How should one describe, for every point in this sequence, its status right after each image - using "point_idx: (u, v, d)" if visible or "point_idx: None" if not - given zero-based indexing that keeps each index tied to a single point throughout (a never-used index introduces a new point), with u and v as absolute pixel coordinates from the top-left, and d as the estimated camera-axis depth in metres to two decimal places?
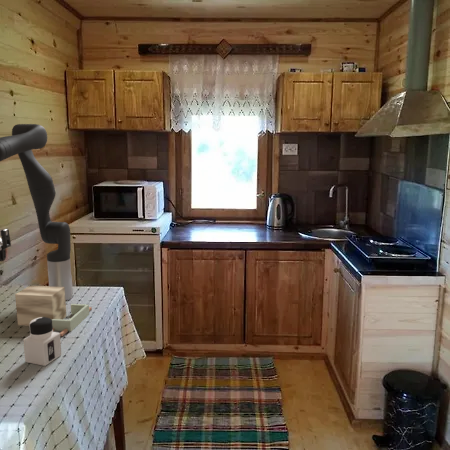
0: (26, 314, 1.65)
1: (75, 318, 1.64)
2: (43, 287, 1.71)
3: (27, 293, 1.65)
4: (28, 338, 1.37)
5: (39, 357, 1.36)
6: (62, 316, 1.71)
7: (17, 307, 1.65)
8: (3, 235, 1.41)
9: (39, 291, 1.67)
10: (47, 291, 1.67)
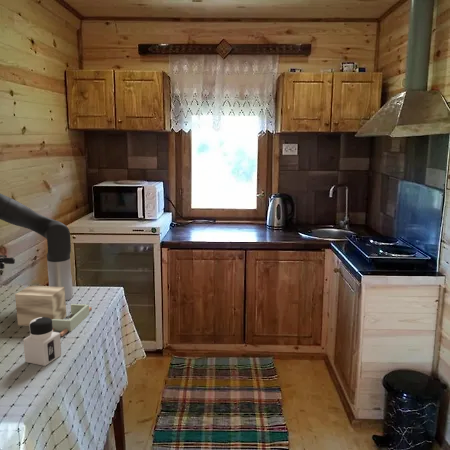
0: (26, 314, 1.65)
1: (75, 318, 1.64)
2: (43, 287, 1.71)
3: (27, 293, 1.65)
4: (28, 338, 1.37)
5: (39, 357, 1.36)
6: (62, 316, 1.71)
7: (17, 307, 1.65)
8: None
9: (39, 291, 1.67)
10: (47, 291, 1.67)
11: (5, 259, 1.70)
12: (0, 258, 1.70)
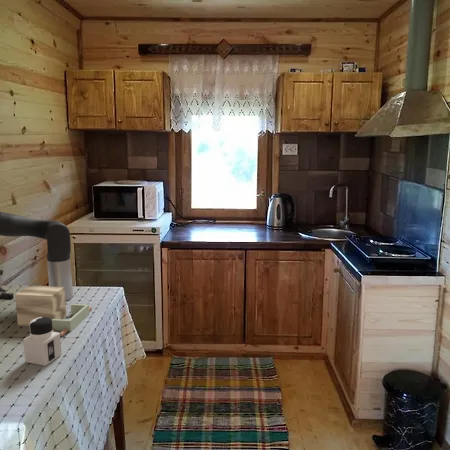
0: (26, 314, 1.65)
1: (75, 318, 1.64)
2: (43, 287, 1.71)
3: (27, 293, 1.65)
4: (28, 338, 1.37)
5: (39, 357, 1.36)
6: (62, 316, 1.71)
7: (17, 307, 1.65)
8: None
9: (39, 291, 1.67)
10: (47, 291, 1.67)
11: None
12: None
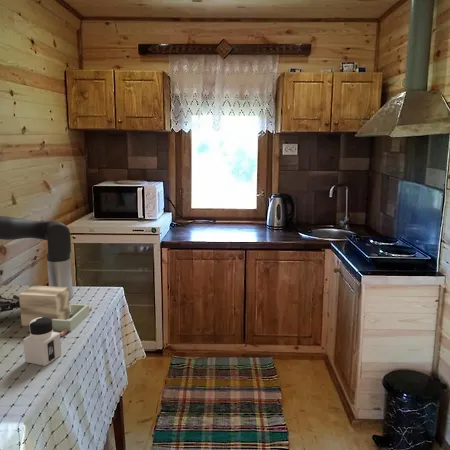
0: (30, 314, 1.64)
1: (75, 318, 1.64)
2: (47, 287, 1.71)
3: (31, 293, 1.64)
4: (28, 338, 1.37)
5: (39, 357, 1.36)
6: (66, 317, 1.70)
7: (21, 307, 1.64)
8: None
9: (43, 291, 1.66)
10: (51, 291, 1.66)
11: (19, 302, 1.70)
12: None
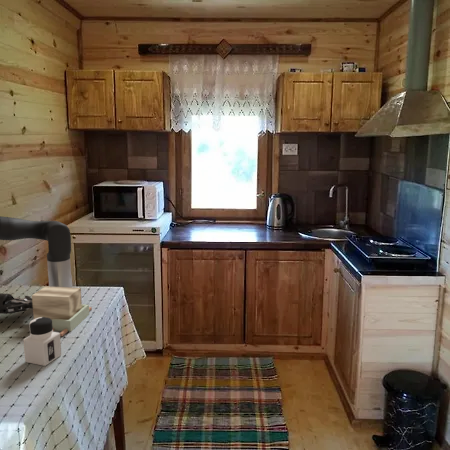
0: (43, 315, 1.64)
1: (75, 318, 1.64)
2: (60, 288, 1.70)
3: (44, 294, 1.64)
4: (28, 338, 1.37)
5: (39, 357, 1.36)
6: None
7: (34, 308, 1.64)
8: None
9: (56, 292, 1.66)
10: (64, 292, 1.66)
11: None
12: None
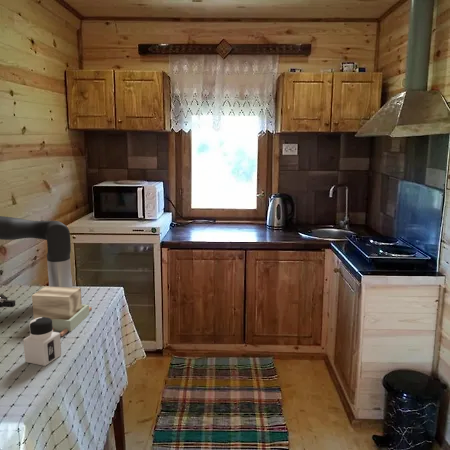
0: (43, 315, 1.64)
1: (75, 318, 1.64)
2: (60, 288, 1.70)
3: (44, 294, 1.64)
4: (28, 338, 1.37)
5: (39, 357, 1.36)
6: None
7: (34, 308, 1.64)
8: None
9: (56, 292, 1.66)
10: (64, 292, 1.66)
11: None
12: (1, 300, 1.71)
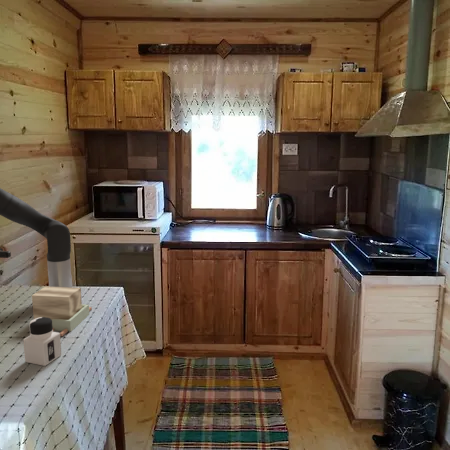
0: (43, 315, 1.64)
1: (75, 318, 1.64)
2: (60, 288, 1.70)
3: (44, 294, 1.64)
4: (28, 338, 1.37)
5: (39, 357, 1.36)
6: None
7: (34, 308, 1.64)
8: None
9: (56, 292, 1.66)
10: (64, 292, 1.66)
11: None
12: None
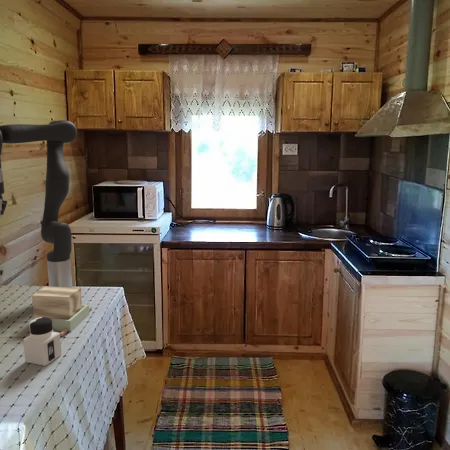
0: (43, 315, 1.64)
1: (75, 318, 1.64)
2: (60, 288, 1.70)
3: (44, 294, 1.64)
4: (28, 338, 1.37)
5: (39, 357, 1.36)
6: None
7: (34, 308, 1.64)
8: None
9: (56, 292, 1.66)
10: (64, 292, 1.66)
11: None
12: None
